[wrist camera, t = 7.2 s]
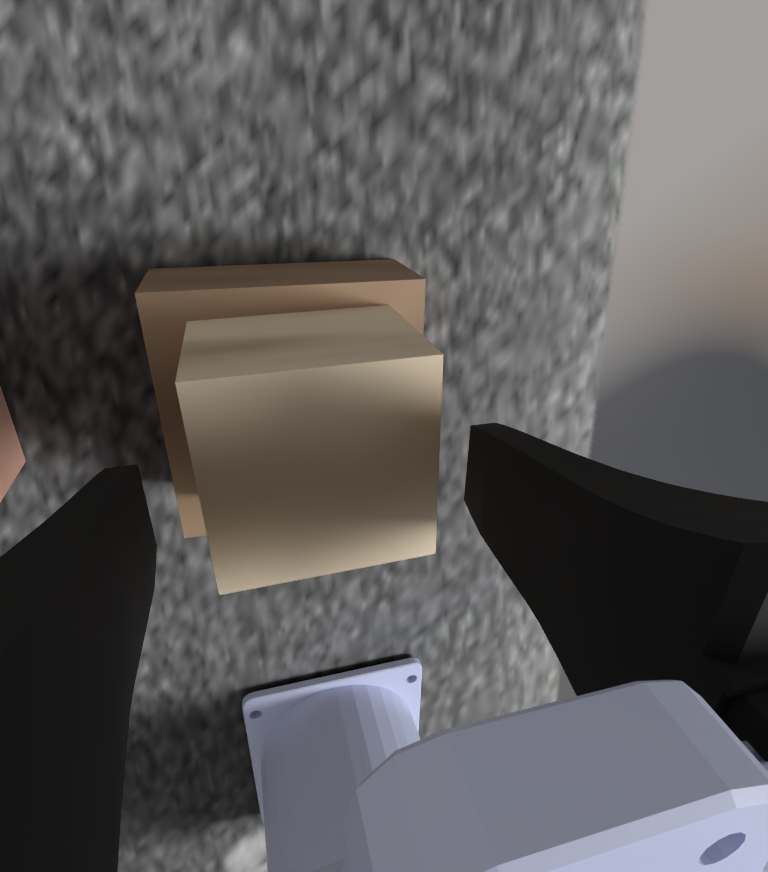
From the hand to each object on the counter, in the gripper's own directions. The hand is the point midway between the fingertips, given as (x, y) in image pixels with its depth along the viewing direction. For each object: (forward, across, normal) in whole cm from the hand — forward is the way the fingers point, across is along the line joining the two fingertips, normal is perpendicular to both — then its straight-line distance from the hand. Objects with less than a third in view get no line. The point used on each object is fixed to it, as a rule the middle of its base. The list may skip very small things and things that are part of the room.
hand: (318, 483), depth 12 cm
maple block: (+3, 0, 0) cm, 3 cm away
